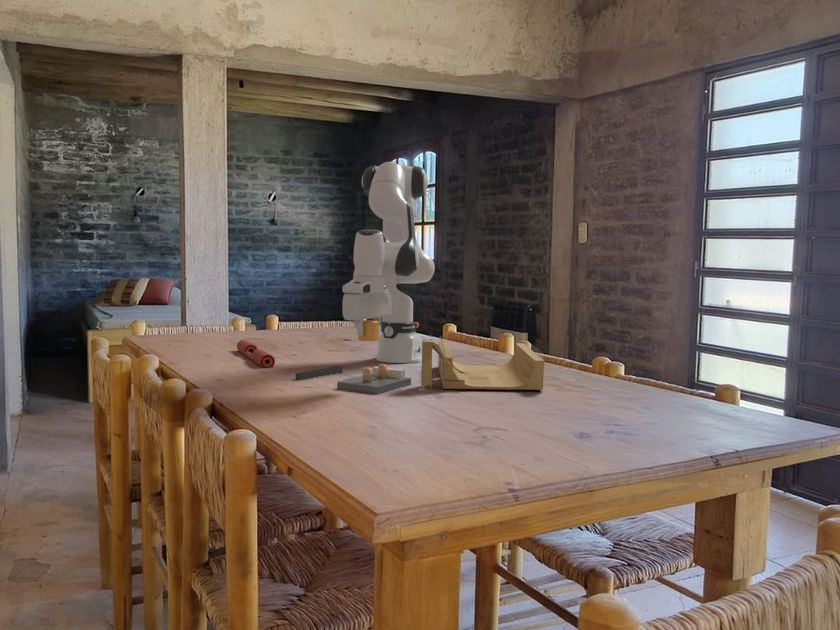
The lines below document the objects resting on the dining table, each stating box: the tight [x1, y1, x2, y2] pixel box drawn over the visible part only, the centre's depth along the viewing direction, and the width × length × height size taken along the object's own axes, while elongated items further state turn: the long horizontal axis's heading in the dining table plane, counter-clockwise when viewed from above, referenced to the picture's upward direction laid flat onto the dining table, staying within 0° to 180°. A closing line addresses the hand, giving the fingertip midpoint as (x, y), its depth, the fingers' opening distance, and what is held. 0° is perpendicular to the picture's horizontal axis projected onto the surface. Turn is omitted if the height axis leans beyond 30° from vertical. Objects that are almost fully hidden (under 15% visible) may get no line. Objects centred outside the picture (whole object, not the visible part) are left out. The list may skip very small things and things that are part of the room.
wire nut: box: [357, 319, 380, 342], centre depth 212 cm, size 6×6×6 cm
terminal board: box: [336, 363, 412, 395], centre depth 217 cm, size 18×14×6 cm
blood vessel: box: [236, 339, 276, 369], centre depth 265 cm, size 42×5×5 cm, turn 24°
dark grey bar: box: [295, 366, 343, 381], centre depth 233 cm, size 19×3×4 cm
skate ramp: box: [420, 333, 545, 391], centre depth 234 cm, size 40×35×16 cm
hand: (367, 334), depth 212 cm, fingers closed on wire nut, 6 cm apart
